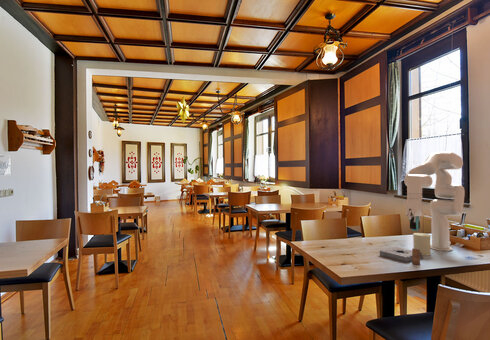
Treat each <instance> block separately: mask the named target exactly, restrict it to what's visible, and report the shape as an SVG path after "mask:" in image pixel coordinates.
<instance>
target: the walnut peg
mask: <svg viewBox="0 0 490 340" xmlns="http://www.w3.org/2000/svg"><path fill="white" fill-rule="evenodd" d="M411 250H412V261H411V263H412V265H415V266H420V265H421V258H420V249H416V248H414V247H413V248H412V249H411Z"/></svg>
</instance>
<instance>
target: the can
mask: <svg viewBox="0 0 490 340" xmlns="http://www.w3.org/2000/svg"><path fill="white" fill-rule="evenodd" d="M412 234H413V235H412V237H413V245H412V246H413V248H416V249H420V252H421V253H422V256H431V248H430V245H431V237H432V234H428V233H423V232H413V233H412Z"/></svg>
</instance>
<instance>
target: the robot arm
mask: <svg viewBox="0 0 490 340" xmlns="http://www.w3.org/2000/svg"><path fill="white" fill-rule="evenodd" d="M463 166H464V161H463V158H462V157H461V156H460V155H458V154H457V153H455V152H453V151H440V152H439V151H438V152H437V151H436V152H432V153H430V154H429V155H428V157H427V158H426V159H425V161H424V162H423V164H420V165H418V166H415V167H414V168H412V169H409V171H408V172H407V173H406V175H404V176H405V177H404V180H403V181H404V183H403V184H404V185H405V186H406V187H407V188H406V191H407V192H406V198H407V199H406V204H405V206H406V207H405V215H406V217H407V218H408V220H409V229H410V230H411V229H416V222H415V219H416V217H418V226H419V230H420V228H421V223H420V222H421V218H422V215H423V201H422V200H423V189H425V188H429V187H431V186H432V185H433V178H432V176H431V175H434V174H435V177H436V179H435V185H434V195H435V197H436V198H439V199H433V200H431V201H430V203H429V210H430V217H431V243H430V250H431V249H432V250H436V251H442V252H450V251H453V247H451V246H450V245H451V243H452V241H450V221H449V220H450V219H448V218H447V216H451V217H452V216H453V217H460V216H461V215H462V214H463V209H464V203H465V193H466V192H465V187H464V186H463V185H461V184H460V183H459V184H457V183H452V182H453V176H452V175H451V174H450V173H449V170H460V169H462V167H463ZM449 199H450V200H449ZM413 218H414V219H413Z"/></svg>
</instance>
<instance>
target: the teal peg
mask: <svg viewBox="0 0 490 340" xmlns="http://www.w3.org/2000/svg"><path fill="white" fill-rule="evenodd" d="M413 219H414V218H413ZM415 222H416V229H410V230H411V231H412V232H419V230H420V229H419V226H418V217H416V219H415Z"/></svg>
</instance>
